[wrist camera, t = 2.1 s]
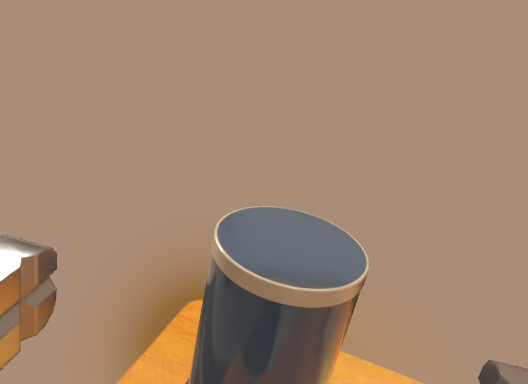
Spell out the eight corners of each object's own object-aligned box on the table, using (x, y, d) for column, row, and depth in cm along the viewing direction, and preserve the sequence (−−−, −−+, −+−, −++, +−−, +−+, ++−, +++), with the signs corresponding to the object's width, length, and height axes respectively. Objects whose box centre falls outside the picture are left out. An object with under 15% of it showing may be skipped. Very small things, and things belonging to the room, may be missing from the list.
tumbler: (209, 491, 20) (253, 301, 16) (167, 373, 26) (193, 207, 22) (338, 449, 23) (402, 281, 19) (277, 351, 29) (317, 203, 25)
